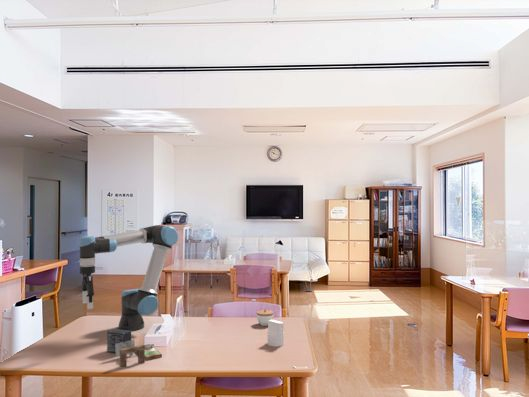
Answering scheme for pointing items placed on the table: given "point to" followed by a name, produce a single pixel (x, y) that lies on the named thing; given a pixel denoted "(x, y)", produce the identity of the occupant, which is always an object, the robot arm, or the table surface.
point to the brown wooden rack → (126, 346)
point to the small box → (117, 338)
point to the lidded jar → (264, 316)
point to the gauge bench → (139, 354)
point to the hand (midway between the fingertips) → (87, 305)
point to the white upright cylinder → (275, 333)
